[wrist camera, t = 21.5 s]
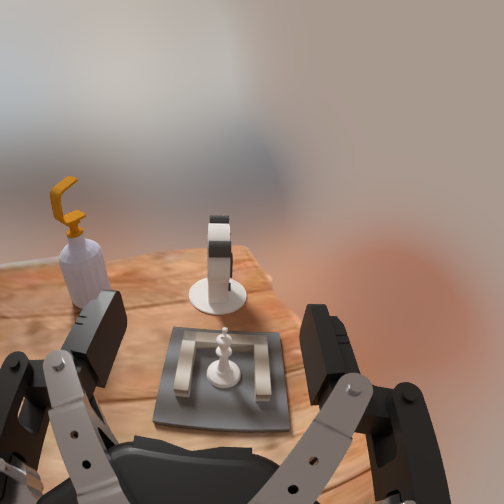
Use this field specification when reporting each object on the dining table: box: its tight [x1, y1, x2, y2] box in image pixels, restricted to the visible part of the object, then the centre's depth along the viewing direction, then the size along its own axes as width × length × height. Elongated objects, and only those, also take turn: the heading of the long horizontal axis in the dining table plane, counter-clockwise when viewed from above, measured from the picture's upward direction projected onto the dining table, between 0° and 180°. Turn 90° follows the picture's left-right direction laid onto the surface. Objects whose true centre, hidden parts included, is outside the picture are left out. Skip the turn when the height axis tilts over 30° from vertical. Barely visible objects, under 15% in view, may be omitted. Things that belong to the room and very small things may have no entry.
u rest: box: [152, 327, 290, 432], centre depth 38 cm, size 18×18×3 cm
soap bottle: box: [50, 176, 111, 309], centre depth 44 cm, size 9×9×25 cm
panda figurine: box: [189, 215, 246, 315], centre depth 51 cm, size 12×11×15 cm
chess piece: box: [207, 327, 241, 388], centre depth 36 cm, size 5×5×10 cm
